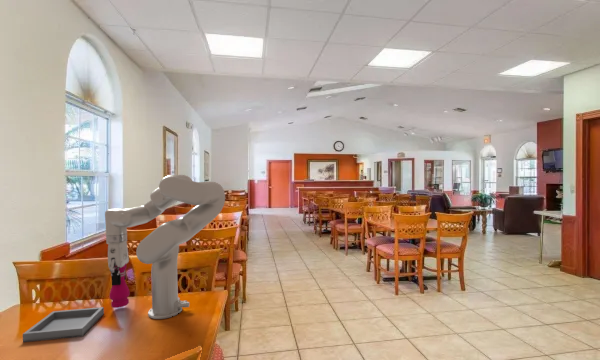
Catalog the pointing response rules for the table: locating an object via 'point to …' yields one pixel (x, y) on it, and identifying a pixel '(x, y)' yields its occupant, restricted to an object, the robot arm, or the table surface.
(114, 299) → the pepper mill
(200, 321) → the table surface
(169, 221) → the robot arm
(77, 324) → the serving tray
